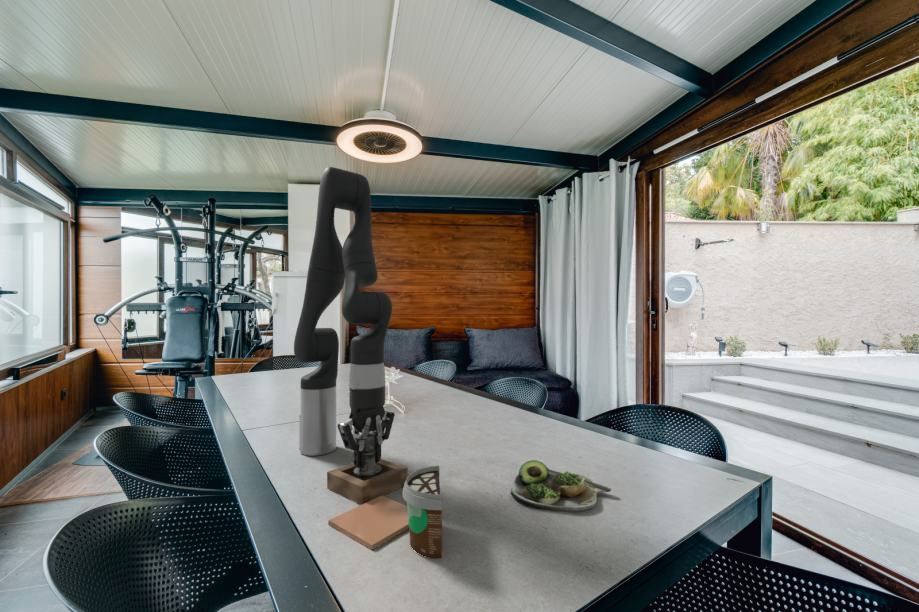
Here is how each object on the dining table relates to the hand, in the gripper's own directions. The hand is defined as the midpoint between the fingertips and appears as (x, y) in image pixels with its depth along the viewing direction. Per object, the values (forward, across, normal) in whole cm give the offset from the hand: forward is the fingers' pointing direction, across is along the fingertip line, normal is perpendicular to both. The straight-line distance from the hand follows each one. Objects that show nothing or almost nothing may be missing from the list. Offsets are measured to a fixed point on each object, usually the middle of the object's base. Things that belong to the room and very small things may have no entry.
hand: (367, 464), depth 84 cm
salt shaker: (+5, 0, 0) cm, 5 cm away
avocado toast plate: (+5, -22, +32) cm, 39 cm away
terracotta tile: (+5, +8, +13) cm, 16 cm away
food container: (+5, +8, +24) cm, 25 cm away
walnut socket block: (+5, 0, 0) cm, 5 cm away
